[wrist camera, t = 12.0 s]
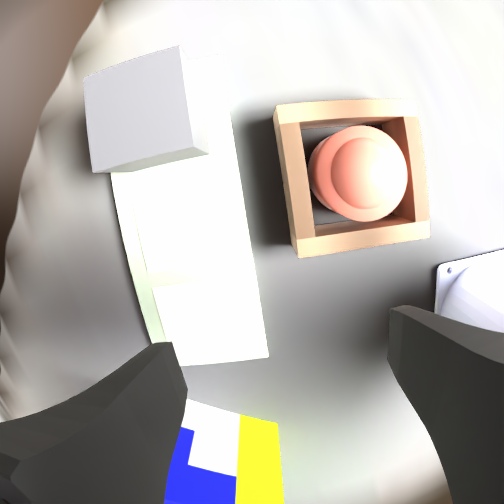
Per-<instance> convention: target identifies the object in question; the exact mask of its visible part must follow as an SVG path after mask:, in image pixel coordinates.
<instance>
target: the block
mask: <svg viewBox="0 0 504 504" xmlns="http://www.w3.org/2000/svg"><path fill="white" fill-rule="evenodd" d="M83 81H84V99H85V113H86V124H87V133H88V142H89V150H90V158H91V165H92V171H93V173H109V172H135V171H139V170H142V169H146V168H151V167H155V166H159V165H163V164H168V163H172V162H176V161H181V160H186V159H190V158H195V157H200V156H205V155H210V150H209V144H208V138H207V131H206V125H205V119H204V113H203V106H202V100H201V93H200V87H199V80H198V76H197V74H196V73H195V71H194V69H193V68H192V66H191V64H190V62H189V61H188V59H187V57H186V56H185V54H184V52H183V51H182V49H181V48H180V46H176V47H172V48H168V49H164V50H161V51H157V52H154V53H150V54H147V55H144V56H141V57H137V58H134V59H131V60H128V61H125V62H123V63H120V64H117V65H114V66H111V67H109V68H106V69H104V70H101V71H98V72H96V73H93V74H91V75H89V76H86V77H84V78H83Z"/></svg>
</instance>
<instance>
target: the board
mask: <svg viewBox="0 0 504 504" xmlns="http://www.w3.org/2000/svg"><path fill="white" fill-rule="evenodd" d="M189 62H190V64H191V66H192V68H193V69H194V71H195V73H196V74H197V76H198V80H199V87H200V93H201V100H202V106H203V113H204V119H205V125H206V131H207V138H208V144H209V150H210V155H205V156H200V157H195V158H190V159H186V160H181V161H176V162H172V163H168V164H163V165H159V166H155V167H151V168H146V169H142V170H139V171H135V172H110V173H111V179H112V185H113V191H114V197H115V202H116V208H117V213H118V218H119V223H120V227H121V232H122V237H123V241H124V245H125V250H126V254H127V258H128V262H129V266H130V270H131V274H132V278H133V282H134V285H135V289H136V293H137V296H138V300H139V303H140V307H141V310H142V313H143V317H144V320H145V323H146V326H147V330H148V333H149V336H150V339H151V342H152V344H153V343H155V342H169V341H172V343H173V346H174V349H175V352H176V356H177V359H178V362H179V365H180V366H189V365H202V364H214V363H224V362H234V361H243V360H251V359H259V358H267V357H269V354H268V347H267V341H266V335H265V328H264V322H263V316H262V310H261V304H260V297H259V291H258V285H257V279H256V273H255V266H254V260H253V254H252V248H251V242H250V236H249V229H248V223H247V217H246V211H245V205H244V198H243V192H242V186H241V180H240V174H239V167H238V161H237V155H236V149H235V143H234V137H233V130H232V124H231V118H230V112H229V106H228V100H227V93H226V87H225V81H224V75H223V69H222V62H221V57H220V55H218V56H212V57H207V58H202V59H198V60H193V61H189Z"/></svg>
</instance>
